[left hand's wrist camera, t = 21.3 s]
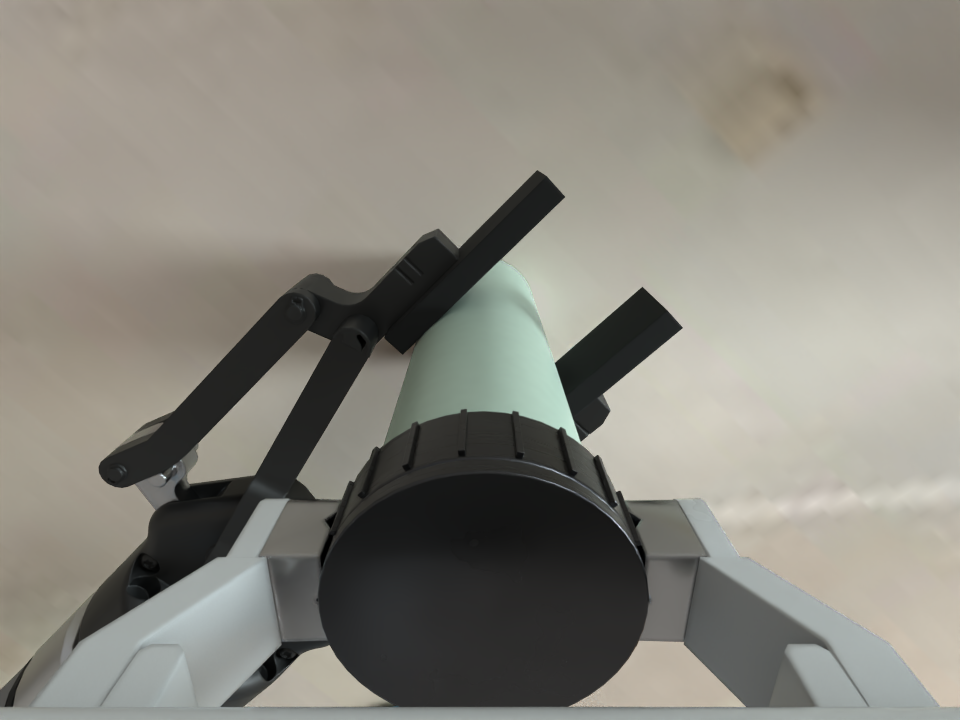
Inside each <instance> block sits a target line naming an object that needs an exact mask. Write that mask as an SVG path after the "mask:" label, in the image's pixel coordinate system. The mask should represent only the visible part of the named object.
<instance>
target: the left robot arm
mask: <svg viewBox="0 0 960 720" xmlns="http://www.w3.org/2000/svg"><path fill="white" fill-rule="evenodd" d="M341 501H342V500H329V499H264V500H262V501H260V502H259V503H258V505H257V507H256V508H255V510H254V512H253V513H252V515H251V517H250V518H249V520H248V522H247V523H246V525H245V526H244V528H243V530H242V531H241V533H240V535H239V536H238V538H237V540H236V541H235V543H234V545H233V546H232V548H231V549H230V551H229V553H228V554H227V556H226V557H217V558H215V559H214V560H212V561H211V562H209V563H207V564H206V565H204V566H202V567H201V568H199V569H198V570H196V571H194V572H193V573H191V574H189V575H188V576H186V577H184V578H183V579H181V580H180V581H178V582H176V583H175V584H173V585H171V586H170V587H168V588H166V589H165V590H163V591H162V592H160V593H158V594H157V595H155V596H153V597H152V598H150V599H148V600H147V601H145V602H144V603H142V604H140V605H139V606H137V607H135V608H134V609H132V610H131V611H129V612H127V613H126V614H124V615H122V616H121V617H119V618H117V619H116V620H114V621H113V622H111V623H109V624H108V625H106V626H104V627H103V628H101V629H99V630H98V631H96V632H95V633H93V634H91V635H90V636H88V637H86V638H85V639H83V640H81V641H80V642H79V643H78V644H77V646H76V647H75V648H74V649H73V651H72V652H71V653H70V655H69V656H68V657H67V658H66V660H65V661H64V662H63V663H62V665H61V666H60V667H59V668H58V670H57V671H56V672H55V673H54V675H53V676H52V677H51V678H50V680H49V681H48V682H47V683H46V685H45V686H44V687H43V688H42V690H41V691H40V692H39V694H38V695H37V696H36V697H35V699H34V700H33V701H32V702H31V704H30V705H29V706H28V707H0V720H960V707H940V706H939V704H938V703H937V702H936V701H935V699H934V698H933V697H932V696H931V694H930V693H929V692H928V691H927V689H926V688H925V687H924V686H923V684H922V683H921V682H920V681H919V680H918V678H917V677H916V676H915V675H914V673H913V672H912V671H911V670H910V668H909V667H908V666H907V665H906V663H905V662H904V661H903V660H902V658H901V657H900V656H899V655H898V653H897V652H896V651H895V650H894V648H893V647H892V646H891V645H890V643H889V642H887V641H885V640H884V639H882V638H881V637H879V636H877V635H876V634H874V633H872V632H871V631H869V630H867V629H866V628H864V627H862V626H861V625H859V624H858V623H856V622H854V621H853V620H851V619H849V618H848V617H846V616H844V615H843V614H841V613H839V612H838V611H836V610H834V609H833V608H831V607H830V606H828V605H826V604H825V603H823V602H821V601H820V600H818V599H816V598H815V597H813V596H811V595H810V594H808V593H807V592H805V591H803V590H802V589H800V588H798V587H797V586H795V585H793V584H792V583H790V582H788V581H787V580H785V579H784V578H782V577H780V576H779V575H777V574H775V573H774V572H772V571H770V570H769V569H767V568H765V567H764V566H762V565H760V564H759V563H757V562H756V561H754V560H752V559H751V558H749V557H740V556H739V554H738V553H737V551H736V550H735V548H734V547H733V545H732V543H731V542H730V540H729V539H728V537H727V535H726V534H725V532H724V531H723V529H722V527H721V526H720V524H719V523H718V521H717V520H716V518H715V516H714V515H713V513H712V512H711V510H710V508H709V507H708V505H707V504H706V502H705V501H704V500H702V499H701V498H693V499H674V500H624V501H625V503H626V506H627V508H628V511H629V513H630V516H631V519H632V521H633V524H634V526H635V529H636V531H637V534H638V536H639V539H640V541H641V545H640V546H637V548H638V551H639V553H640V556H641V559H642V561H643V565H644V568H645V572H646V576H647V581H648V591H649V602H648V613H647V617H646V621H645V626H644V630H643V632H642V634H641V637H640V639H639V641H673V642H684V645H685V646H686V647H687V648H688V649H689V650H690V651H691V652H692V653H693V654H694V655H695V656H696V657H697V658H698V659H699V660H700V661H701V662H702V663H703V664H704V665H705V666H706V667H707V668H708V669H709V670H710V671H711V672H712V673H713V674H714V675H715V676H716V677H717V678H718V679H719V680H720V681H721V682H722V683H723V684H724V685H725V686H726V687H727V688H728V689H729V690H730V691H731V692H732V693H733V694H734V695H735V696H736V697H737V698H738V699H739V700H740V701H741V702H742V703H743V704H744V705H745V706H746V707H220V706H221V705H222V704H223V703H224V702H225V701H226V700H227V699H228V698H229V697H230V696H231V695H232V694H233V693H234V692H235V691H236V690H237V689H238V688H239V687H240V686H241V685H242V684H243V683H244V682H245V681H246V680H247V679H248V678H249V677H250V676H251V675H252V674H253V673H254V672H255V671H256V670H257V669H258V668H259V667H260V666H261V665H262V664H263V663H264V662H265V661H266V660H267V659H268V658H269V657H270V656H271V655H272V654H273V653H274V652H275V651H276V650H277V649H278V648H279V647H280V646H281V645H282V643H281V642H292V641H327V638H326V635H325V633H324V630H323V628H322V624H321V619H320V615H319V610H318V586H319V579H320V574H321V571H322V567H323V564H324V561H325V558H326V555H327V552H328V550H329V547H330V545H331V542H332V539H333V535H330V534H329V533H330V530H331V528H332V525H333V522H334V520H335V517H336V514H337V512H338V509H339V507H340V504H341Z"/></svg>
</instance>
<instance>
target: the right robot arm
mask: <svg viewBox="0 0 960 720" xmlns="http://www.w3.org/2000/svg"><path fill="white" fill-rule="evenodd" d="M564 198H565V196H564V195H563V194H562V193H561V192H560V191H559V190H558V188H557V187H556V186H555V185H554V184H553V183H552V182H551V181H550V179H549V178H548V177H547V176H545V175H544V174H542V173H541V172H539V171H538V170H537V171H536V172H535V173H534V174H533V175H532V176H531V177H530V178H529V179H528V180H527V181H526V182H525V183H524V184H523V185H522V186H521V187H520V188H519V189H518V190H517V191H516V192H515V193H514V194H513V195H512V196H511V197H510V198H509V199H508V200H507V201H506V202H505V203H504V204H503V205H502V206H501V207H500V208H499V209H498V210H497V211H496V212H495V213H494V214H493V215H492V216H491V217H490V218H489V219H488V220H487V221H486V222H485V223H484V224H483V225H482V226H481V227H480V228H479V229H478V230H477V231H476V232H475V233H474V234H473V235H472V236H471V237H470V238H469V239H468V240H467V241H466V242H465V243H464V244H463V245H462V246H461V247H460V248H459V249H458V248H457V247H456V246H455V245H454V244H453V243H452V242H451V241H450V240H449V239H448V238H447V237H446V236H445V235H444V234H443V233H442V232H441V231H440V230H439V229H436V230H434V231H432V232H429V233H427V234H425V235H423V236H422V237H421V238H420V239H419V240H418V241H417V242H416V243H415V244H414V245H413V246H412V247H411V248H410V249H409V250H408V251H407V252H406V253H405V254H404V255H403V257H402V258H401V259H400V260H399V261H398V262H397V263H396V264H395V265H394V266H393V267H392V268H391V269H390V270H389V271H388V272H387V273H386V274H385V275H384V276H383V277H382V278H381V279H380V280H379V281H378V282H377V284H376V285H375V286H374V287H372V288H371V289H370V290H368V291H365V292H362V293H352V292H349V291H346V290H344V289H341V288H339V287H337V286H335V285H333V283H332V282H331V281H330V279H329V278H327V277H325V276H324V275H321V274H310V275H308V276H307V277H305V278H304V279H302V280H301V281H300V282H299V283H297V284H296V285H295V286H294V287H292V288H291V289H290V290H289V291H287V292H286V293H285V294H284V295H283V296H281V297H280V298H279V299H278V300H277V301H276V302H275V303H274V305H273V306H272V307H271V308H270V309H269V310H268V311H267V312H266V313H265V314H264V315H263V316H262V317H261V319H260V320H259V321H258V322H257V323H256V324H255V325H254V326H253V327H252V328H251V329H250V330H249V331H248V333H247V334H246V335H245V336H244V337H243V338H242V339H241V340H240V341H239V342H238V343H237V344H236V345H235V347H234V348H233V349H232V350H231V351H230V352H229V353H228V354H227V355H226V356H225V357H224V358H223V359H222V361H221V362H220V363H219V364H218V365H217V366H216V367H215V368H214V369H213V370H212V371H211V372H210V373H209V375H208V376H207V377H206V378H205V379H204V380H203V381H202V382H201V383H200V384H199V385H198V386H197V387H196V389H195V390H194V391H193V392H192V393H191V394H190V395H189V396H188V397H187V398H186V399H185V400H184V401H183V403H182V404H181V405H180V406H179V407H178V408H177V409H176V410H175V411H173V412H171V413H169V414H167V415H164V416H162V417H160V418H158V419H155V420H153V421H151V422H148V423H146V424H145V425H143V426H142V427H141V428H140V429H139V430H137V431H136V432H135V433H134V434H133V435H132V436H130V437H129V438H128V439H127V440H126V441H124V442H123V443H122V444H121V445H120V446H119V447H117V448H116V449H115V450H114V451H113V452H112V453H111V454H110V455H108V456H107V457H106V458H105V459H104V460H103V461H101V463H100V465H99V473H100V475H101V477H102V479H103V480H104V481H106V482H107V483H108V484H110V485H112V486H114V487H120V488H124V487H128V486H131V485H133V484H135V485H136V486H137V487H138V488H139V490H140V491H141V492H142V493H143V495H144V496H145V497H146V498H147V500H148V501H149V502H150V503H151V505H152V506H153V507H154V508H155V510H156V511H155V512H154V514H153V515H152V517H151V519H150V522H149V528H148V537H147V539H146V540H145V541H144V542H143V543H142V544H141V545H140V546H139V547H138V548H137V549H136V550H135V551H134V552H133V553H132V554H131V555H130V556H129V557H128V558H127V559H126V560H125V561H124V562H123V563H122V564H121V565H120V566H119V567H118V568H117V569H116V571H115V572H114V573H113V574H112V575H111V576H110V577H109V578H108V579H107V580H106V581H105V582H104V583H103V584H102V585H101V586H100V587H99V588H98V590H97V591H96V592H95V593H93V594H92V595H91V596H90V597H89V598H88V599H87V600H86V601H85V602H84V603H83V604H82V605H81V606H80V607H79V608H78V609H77V610H76V612H75V613H74V614H73V615H72V616H71V617H70V618H69V619H68V620H67V621H66V622H65V623H64V624H63V625H62V626H61V627H60V628H59V629H58V630H57V631H56V632H55V633H54V634H53V635H52V636H51V637H50V638H49V639H48V640H47V641H46V642H45V643H44V644H43V645H42V646H41V647H40V648H39V649H38V650H37V652H36V653H35V655H34V656H33V657H32V658H31V659H30V660H29V662H28V663H27V664H26V665H25V666H24V667H23V668H22V669H21V670H20V671H19V672H18V673H17V674H16V675H15V676H14V677H13V678H12V679H11V680H10V681H9V682H8V683H7V684H6V685H5V686H4V687H3V688H2V689H1V690H0V707H28V706H29V705H30V704H31V702H32V701H33V700H34V699H35V697H36V696H37V695H38V694H39V692H40V691H41V690H42V688H43V687H44V686H45V685H46V683H47V682H48V681H49V680H50V678H51V677H52V676H53V675H54V673H55V672H56V671H57V670H58V668H59V667H60V666H61V665H62V663H63V662H64V661H65V660H66V658H67V657H68V656H69V655H70V653H71V652H72V651H73V649H74V648H75V647H76V646H77V644H78V643H79V642H80V641H81V640H83V639H85V638H86V637H88V636H90V635H91V634H93V633H95V632H96V631H98V630H99V629H101V628H103V627H104V626H106V625H108V624H109V623H111V622H113V621H114V620H116V619H117V618H119V617H121V616H122V615H124V614H126V613H127V612H129V611H131V610H132V609H134V608H135V607H137V606H139V605H140V604H142V603H144V602H145V601H147V600H148V599H150V598H152V597H153V596H155V595H157V594H158V593H160V592H162V591H163V590H165V589H166V588H168V587H170V586H171V585H173V584H175V583H176V582H178V581H180V580H181V579H183V578H184V577H186V576H188V575H189V574H191V573H193V572H194V571H196V570H198V569H199V568H201V567H202V566H204V565H206V564H207V563H209V562H211V561H212V560H214V559H215V558H217V557H226V556H227V554H228V553H229V551H230V549H231V548H232V546H233V545H234V543H235V541H236V540H237V538H238V536H239V535H240V533H241V531H242V530H243V528H244V526H245V525H246V523H247V522H248V520H249V518H250V517H251V515H252V513H253V512H254V510H255V508H256V507H257V505H258V503H259V502H260V501H262V500H264V499H315V498H314V496H313V495H312V494H311V493H310V492H309V490H308V489H307V488H306V487H305V486H304V485H303V484H301V483H300V482H299V481H298V480H296V478H297V476H298V474H299V473H300V471H301V469H302V468H303V466H304V464H305V463H306V461H307V459H308V458H309V456H310V454H311V453H312V451H313V449H314V448H315V446H316V444H317V443H318V441H319V439H320V438H321V436H322V434H323V433H324V431H325V429H326V428H327V426H328V424H329V423H330V421H331V419H332V417H333V416H334V414H335V412H336V411H337V409H338V407H339V406H340V404H341V402H342V401H343V399H344V397H345V396H346V394H347V392H348V391H349V389H350V387H351V386H352V384H353V382H354V381H355V379H356V377H357V376H358V374H359V372H360V371H361V369H362V367H363V366H364V364H365V362H366V361H367V359H368V357H370V355H371V353H372V351H373V349H374V347H375V345H376V344H377V343H378V342H379V341H380V340H381V339H382V338H383V337H384V336H385V337H384V338H385V339H386V340H387V341H388V342H389V343H390V344H391V345H393V346H394V347H395V348H396V349H397V350H398V351H399V352H400V353H402V354H404V353H405V352H406V351H407V350H408V349H409V348H410V347H411V346H412V345H413V344H414V343H415V342H416V341H417V340H418V339H419V338H420V337H421V336H422V335H423V334H424V333H425V332H426V331H427V330H428V329H430V328H431V327H432V326H433V325H434V324H435V323H436V322H437V321H438V320H439V319H440V318H441V317H442V316H443V315H444V314H445V313H446V312H447V311H448V310H449V309H450V308H451V307H452V306H453V305H454V304H455V303H456V302H457V301H459V300H460V299H461V298H462V297H463V296H464V295H465V294H466V293H467V292H468V291H469V290H470V289H471V288H472V287H473V286H474V285H475V284H476V283H477V282H478V281H479V280H480V279H481V278H482V277H483V276H484V275H485V274H486V273H487V272H488V271H489V270H490V269H492V268H493V267H494V266H495V265H496V264H497V263H498V262H499V261H500V260H501V259H502V258H503V257H504V256H505V255H506V254H507V253H508V252H509V251H510V250H511V249H512V248H513V247H514V246H515V245H516V244H517V243H518V242H519V241H520V240H521V239H522V238H523V237H524V236H526V235H527V234H528V233H529V232H530V231H531V230H532V229H533V228H534V227H535V226H536V225H537V224H538V223H539V222H540V221H541V220H542V219H543V218H544V217H545V216H546V215H547V214H548V213H549V212H550V211H551V210H552V209H553V208H554V207H555V206H556V205H557V204H559V203H560V202H561V201H562V200H563V199H564ZM682 328H683V327H682V326H681V325H680V324H679V323H678V322H677V321H676V320H675V319H674V317H673V316H672V315H671V314H670V313H669V312H668V311H667V310H666V309H665V308H664V307H663V306H662V305H661V304H660V303H659V302H658V301H657V300H656V299H655V298H654V297H653V296H652V295H650V294H649V293H648V292H647V291H646V290H645V289H644V288H643V287H642V288H641V289H639V290H638V291H637V292H636V293H635V294H634V295H633V296H631V297H630V298H629V299H628V300H627V301H626V302H625V303H623V304H622V305H621V306H620V307H619V308H618V309H616V310H615V311H614V312H613V313H612V314H611V315H610V316H608V317H607V318H606V319H605V320H604V321H603V322H602V323H600V324H599V325H598V326H597V327H596V328H595V329H593V330H592V331H591V332H590V333H589V334H588V335H587V336H585V337H584V338H583V339H582V340H581V341H580V342H579V343H577V344H576V345H575V346H574V347H573V348H572V349H570V350H569V351H568V352H567V353H566V354H565V355H564V356H562V357H561V358H560V359H559V360H558V361H557V362H556V363H555V366H556V369H557V372H558V375H559V378H560V381H561V384H562V387H563V390H564V393H565V396H566V399H567V402H568V405H569V409H570V412H571V415H572V418H573V421H574V424H575V427H576V430H577V433H578V436H579V439H580V441H582V440H583V439H585V438H586V437H587V436H588V435H589V434H591V433H592V432H593V431H595V430H596V429H597V428H598V427H600V426H601V425H602V424H603V423H604V421H605V419H606V417H607V416H608V414H609V412H610V408H609V406H608V404H607V402H606V400H605V398H604V396H603V393H604V392H606V391H607V390H608V389H609V388H611V387H612V386H613V385H614V384H615V383H617V382H618V381H619V380H620V379H621V378H623V377H624V376H625V375H626V374H628V373H629V372H630V371H631V370H632V369H634V368H635V367H636V366H637V365H638V364H640V363H641V362H642V361H643V360H644V359H646V358H647V357H648V356H649V355H651V354H652V353H653V352H654V351H655V350H657V349H658V348H659V347H660V346H661V345H663V344H664V343H665V342H666V341H668V340H669V339H670V338H671V337H672V336H674V335H675V334H676V333H677V332H678V331H680V330H681V329H682ZM307 330H309V331H311V332H313V333H316V334H318V335H320V336H323V337H325V338H327V339H330V340H331V342H330V344H329V346H328V347H327V349H326V351H325V353H324V354H323V356H322V358H321V360H320V361H319V363H318V365H317V367H316V369H315V370H314V372H313V374H312V376H311V377H310V379H309V381H308V383H307V385H306V386H305V388H304V390H303V392H302V393H301V395H300V397H299V399H298V400H297V402H296V404H295V406H294V408H293V409H292V411H291V413H290V415H289V416H288V418H287V420H286V422H285V424H284V425H283V427H282V429H281V431H280V432H279V434H278V436H277V438H276V440H275V441H274V443H273V445H272V447H271V448H270V450H269V452H268V454H267V455H266V457H265V459H264V461H263V463H262V464H261V466H260V468H259V470H258V471H257V473H256V475H255V476H247V477H240V478H232V479H225V480H217V481H210V482H202V483H194V484H189V483H188V481H187V473H188V472H189V471H190V470H191V469H192V468H193V466H194V465H195V464H196V462H197V460H198V455H197V452H196V450H197V449H198V443H199V442H200V441H201V439H202V438H203V437H204V436H205V435H206V434H207V433H208V432H209V431H210V430H211V429H212V428H213V427H214V426H215V425H216V424H217V423H218V422H219V421H220V420H221V419H222V418H223V417H224V416H225V415H226V414H227V413H228V412H229V411H230V410H231V409H232V407H233V406H234V405H235V404H236V403H237V402H238V401H239V400H240V399H241V398H242V397H243V396H244V395H245V394H246V393H247V392H248V391H249V390H250V389H251V388H252V387H253V386H254V385H255V384H256V383H257V382H258V381H259V380H260V379H261V378H262V377H263V376H264V374H265V373H266V372H267V371H268V370H269V369H270V368H271V367H272V366H273V365H274V364H275V363H276V362H277V361H278V360H279V359H280V358H281V357H282V356H283V355H284V354H285V353H286V352H287V351H288V350H289V349H290V348H291V347H292V346H293V345H294V344H295V343H296V341H297V340H298V339H299V338H300V337H301V336H302V335H303V334H304V333H305V332H306V331H307ZM281 643H282V645H281V646H280V647H279V648H278V649H277V650H276V651H275V652H274V653H273V654H272V655H271V656H270V657H269V658H268V659H267V660H266V661H265V662H264V663H263V664H262V665H261V666H260V667H259V668H258V669H257V670H256V671H255V672H254V673H253V674H252V675H251V676H250V677H249V678H248V679H247V680H246V681H245V682H244V683H243V684H242V685H241V686H240V687H239V688H238V689H237V690H236V691H235V692H234V693H233V694H232V695H231V696H230V697H229V698H228V699H227V700H226V701H225V702H224V703H223V704H222V705H221V706H220V707H243V706H245V705H246V704H247V703H248V702H250V701H251V700H252V699H253V698H255V697H256V696H257V695H258V694H259V693H261V692H262V691H263V690H264V689H266V688H267V687H268V686H269V685H271V684H272V683H273V682H274V681H275V680H276V679H277V678H278V677H279V676H280V675H281V674H282V673H283V672H284V671H285V670H286V669H287V668H288V667H289V666H290V665H291V664H292V663H293V662H294V661H295V659H296V658H297V657H298V656H299V655H301V654H302V653H304V652H306V651H309V650H312V649H316V648H321V647H325V646H328V645H329V643H328V641H292V642H281Z"/></svg>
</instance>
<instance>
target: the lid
mask: <svg viewBox="0 0 960 720" xmlns="http://www.w3.org/2000/svg"><path fill="white" fill-rule="evenodd" d="M329 534H330V535H333V539H332V542H331V545H330V547H329V550H328V552H327V555H326V558H325V561H324V564H323V567H322V571H321V574H320V579H319V586H318V610H319V615H320V619H321V624H322V628H323V630H324V633H325V635H326V638H327V641H328V643H329V645H330V646H331V648H332V650H333V651H334V653H335V655H336V657H337V658H338V659H339V661H340V662H341V663H342V664H343V666H344V667H345V668H346V669H347V671H348V672H349V673H351V674H352V675H353V676H354V677H355V678H356V679H357V680H358V681H359V682H360V683H361V684H362V685H364V686H365V687H366V688H368V689H369V690H370V691H372V692H373V693H374V694H376V695H378V696H379V697H381V698H383V699H384V700H386V701H388V702H389V703H391V704H394V705H396V706H398V707H568V706H571V705H573V704H575V703H577V702H578V701H580V700H582V699H584V698H585V697H587V696H589V695H590V694H592V693H593V692H595V691H596V690H597V689H599V688H600V687H601V686H603V685H604V684H605V683H606V682H607V681H609V680H610V679H611V678H612V677H613V676H614V675H615V674H616V673H617V672H618V671H619V670H620V668H621V667H622V666H623V665H624V664H625V662H626V661H627V660H628V659H629V657H630V655H631V654H632V652H633V651H634V649H635V647H636V646H637V644H638V641H639V639H640V637H641V634H642V632H643V630H644V626H645V621H646V617H647V613H648V602H649V591H648V581H647V576H646V572H645V568H644V565H643V561H642V559H641V556H640V553H639V551H638V548H637V546H640V545H641V541H640V539H639V536H638V534H637V531H636V529H635V526H634V524H633V521H632V519H631V516H630V513H629V511H628V508H627V506H626V503H625V501H624V498H623V496H622V493H621V491H618V492H616V491H615V488H614V486H613V484H612V482H611V480H610V478H609V476H608V475H607V473H606V470H605V467H604V465H603V462H602V459H601V458H600V457H599V455H597V456H595V457H594V456H593V455H592V454H591V453H590V452H589V451H588V450H587V449H586V448H584V447H583V446H582V445H581V444H579V443H578V442H577V441H576V440H575V439H573V438H571V437H570V436H568V435H567V433H566V429H564V428H562V427H560V428H559V429H556V428H554V427H552V426H549V425H547V424H545V423H543V422H540V421H537V420H534V419H531V418H528V417H525V416H520V415H519V412H517V411H512V414H510V413H504V412H490V411H477V412H467V409H461V412H460V413H457V414H451V415H445V416H442V417H438V418H435V419H432V420H428V421H425V422H423V423H421V424H419V423H418V422H417V421H416V422H414V423H412V425H411V428H410V429H408V430H406V431H404V432H403V433H401V434H399V435H398V436H396V437H394V438H393V439H392V440H390V441H389V442H388V443H386V444H385V445H384V446H383V447H381V448H380V449H379V448H378V447H375V448H374V449H373V451H372V454H371V457H370V459H369V460H368V462H367V463H366V464H365V466H364V467H363V469H362V470H361V471H360V473H359V474H358V476H357V478H356V480H355V482H352V481H349V483H348V486H347V488H346V491H345V493H344V496H343V499H342V501H341V504H340V507H339V509H338V512H337V514H336V517H335V520H334V522H333V525H332V528H331V530H330V533H329Z"/></svg>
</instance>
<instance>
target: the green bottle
mask: <svg viewBox="0 0 960 720" xmlns="http://www.w3.org/2000/svg"><path fill="white" fill-rule="evenodd" d="M461 409H467V412H477V411H490V412H504V413H510V414H512V411H517V412H519V415H520V416H525V417H528V418H531V419H534V420H537V421H540V422H543V423H545V424H547V425H549V426H552V427H554V428H556V429H559V428H560V427H562V428H564V429H566V433H567V435H568V436H570V437H571V438H573V439H575V440H576V441H577V442H578V443H579V444H581V442H580V439H579V436H578V433H577V430H576V427H575V424H574V421H573V418H572V415H571V412H570V409H569V405H568V402H567V399H566V396H565V393H564V390H563V387H562V384H561V381H560V378H559V375H558V372H557V369H556V366H555V363H554V360H553V356H552V353H551V350H550V347H549V344H548V341H547V338H546V335H545V332H544V329H543V326H542V323H541V320H540V317H539V314H538V311H537V308H536V304H535V301H534V298H533V295H532V292H531V290H530V287H529V285H528V283H527V281H526V280H525V278H524V277H523V276H522V275H521V274H520V272H519V271H518V270H516V269H515V268H514V267H513V266H511V265H509V264H508V263H506V262H504V261H501V260H500V261H499V262H498V263H497V264H496V265H495V266H494V267H493V268H492V269H490V270H489V271H488V272H487V273H486V274H485V275H484V276H483V277H482V278H481V279H480V280H479V281H478V282H477V283H476V284H475V285H474V286H473V287H472V288H471V289H470V290H469V291H468V292H467V293H466V294H465V295H464V296H463V297H462V298H461V299H460V300H459V301H457V302H456V303H455V304H454V305H453V306H452V307H451V308H450V309H449V310H448V311H447V312H446V313H445V314H444V315H443V316H442V317H441V318H440V319H439V320H438V321H437V322H436V323H435V324H434V325H433V326H432V327H431V328H430V329H428V330H427V331H426V332H425V333H424V334H423V335H422V336H421V337H420V338H419V339H418V340H417V341H416V344H415V347H414V350H413V354H412V357H411V360H410V363H409V366H408V369H407V373H406V376H405V379H404V382H403V385H402V389H401V392H400V395H399V398H398V401H397V404H396V408H395V411H394V414H393V417H392V420H391V423H390V427H389V430H388V433H387V436H386V439H385V442H384V445H385V444H386V443H388V442H389V441H390V440H392V439H393V438H394V437H396V436H398V435H399V434H401V433H403V432H404V431H406V430H408V429H410V428H411V425H412V423H414V422H416V421H417V422H418V423H419V424H421V423H423V422H425V421H428V420H432V419H435V418H438V417H442V416H445V415H451V414H457V413H460V412H461Z"/></svg>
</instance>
